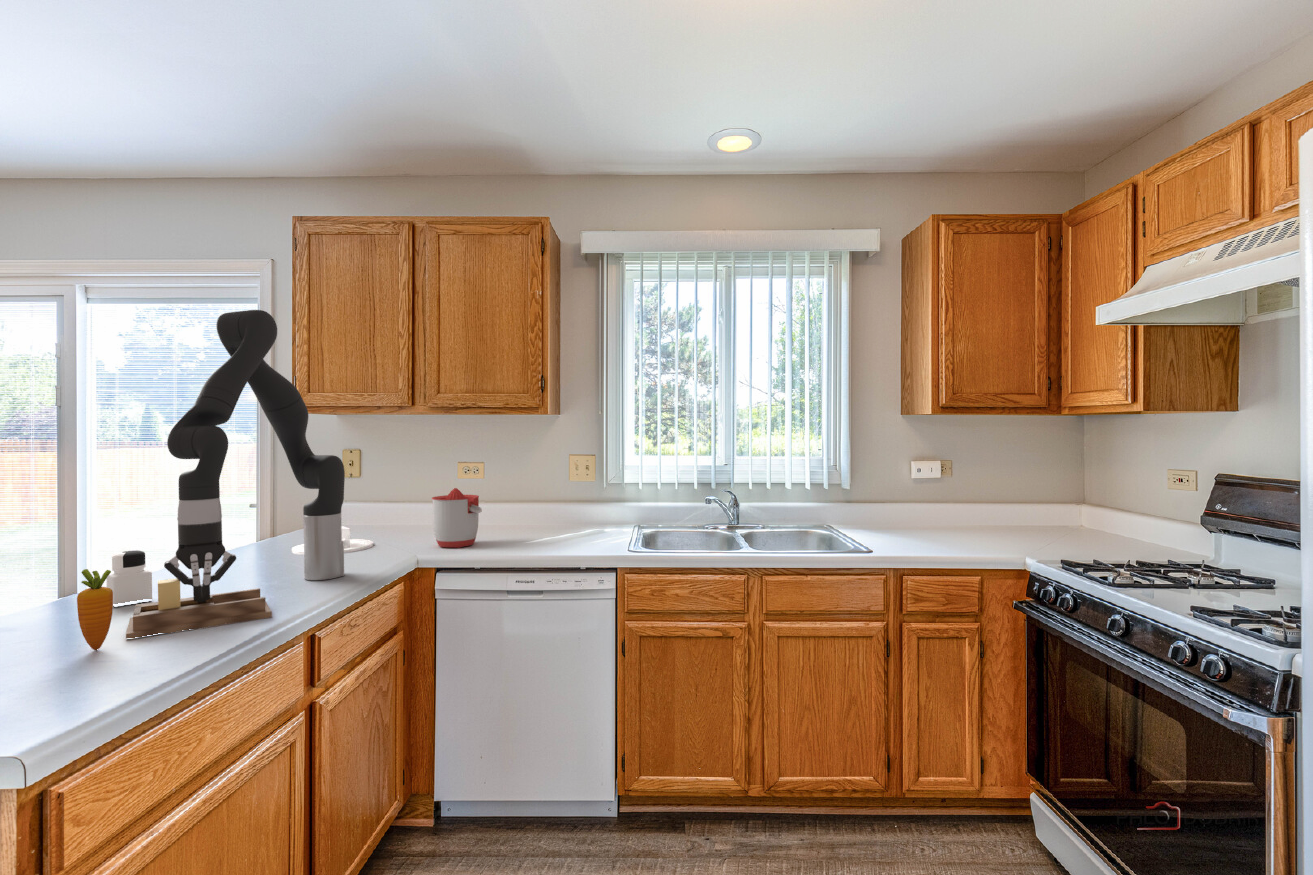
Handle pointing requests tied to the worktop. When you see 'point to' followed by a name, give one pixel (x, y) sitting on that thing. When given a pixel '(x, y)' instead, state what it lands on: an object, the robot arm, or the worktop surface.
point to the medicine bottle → (129, 577)
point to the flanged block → (168, 594)
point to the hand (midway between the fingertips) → (202, 602)
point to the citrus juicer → (455, 519)
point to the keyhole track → (198, 613)
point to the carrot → (95, 608)
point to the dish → (349, 544)
